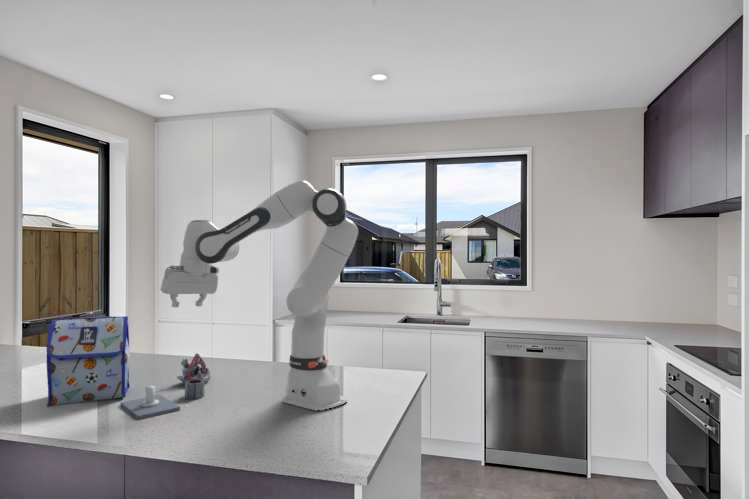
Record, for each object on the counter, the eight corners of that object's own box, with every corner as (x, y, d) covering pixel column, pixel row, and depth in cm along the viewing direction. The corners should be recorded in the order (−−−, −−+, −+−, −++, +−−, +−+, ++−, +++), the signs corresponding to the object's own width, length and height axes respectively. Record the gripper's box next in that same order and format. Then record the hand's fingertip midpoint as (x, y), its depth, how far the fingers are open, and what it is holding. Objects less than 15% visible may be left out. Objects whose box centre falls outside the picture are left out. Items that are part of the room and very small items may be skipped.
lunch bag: (41, 410, 138) (43, 321, 138) (53, 394, 153) (55, 314, 153) (126, 401, 147) (128, 318, 148) (129, 387, 162) (132, 312, 163)
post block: (179, 410, 141) (180, 388, 141) (138, 419, 132) (138, 397, 132) (160, 397, 152) (160, 378, 152) (120, 405, 143) (121, 384, 143)
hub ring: (206, 396, 154) (207, 381, 154) (189, 400, 150) (190, 385, 150) (199, 392, 158) (199, 378, 158) (182, 396, 154) (182, 381, 154)
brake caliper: (203, 382, 163) (186, 353, 164) (181, 398, 165) (164, 370, 166) (221, 374, 174) (204, 347, 176) (200, 389, 176) (184, 363, 177)
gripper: (172, 266, 145) (165, 309, 145) (222, 269, 163) (216, 307, 163) (160, 263, 149) (153, 305, 149) (211, 266, 166) (205, 303, 166)
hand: (187, 306), depth 156 cm, fingers open, 8 cm apart
